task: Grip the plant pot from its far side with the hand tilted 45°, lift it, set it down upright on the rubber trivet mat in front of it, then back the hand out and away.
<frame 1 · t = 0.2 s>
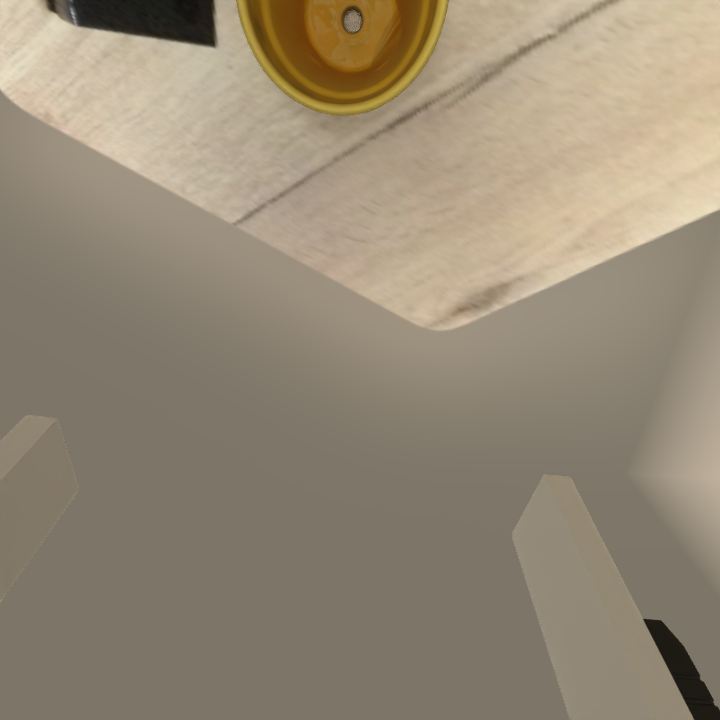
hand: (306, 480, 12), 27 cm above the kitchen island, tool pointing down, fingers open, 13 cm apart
plant pot: (353, 20, 29), on the kitchen island
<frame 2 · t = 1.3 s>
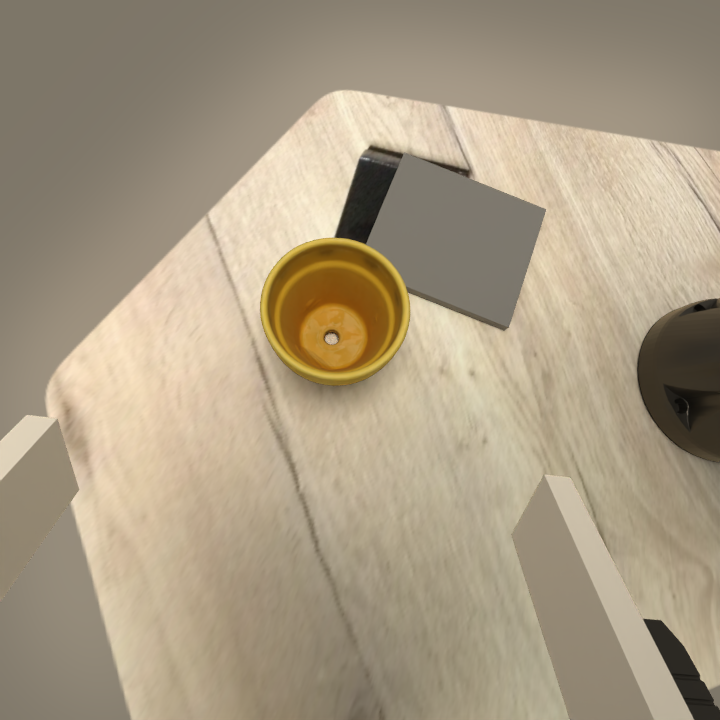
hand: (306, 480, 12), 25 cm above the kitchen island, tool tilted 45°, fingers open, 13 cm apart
plant pot: (332, 340, 39), on the kitchen island
trivet mat: (451, 241, 42), on the kitchen island
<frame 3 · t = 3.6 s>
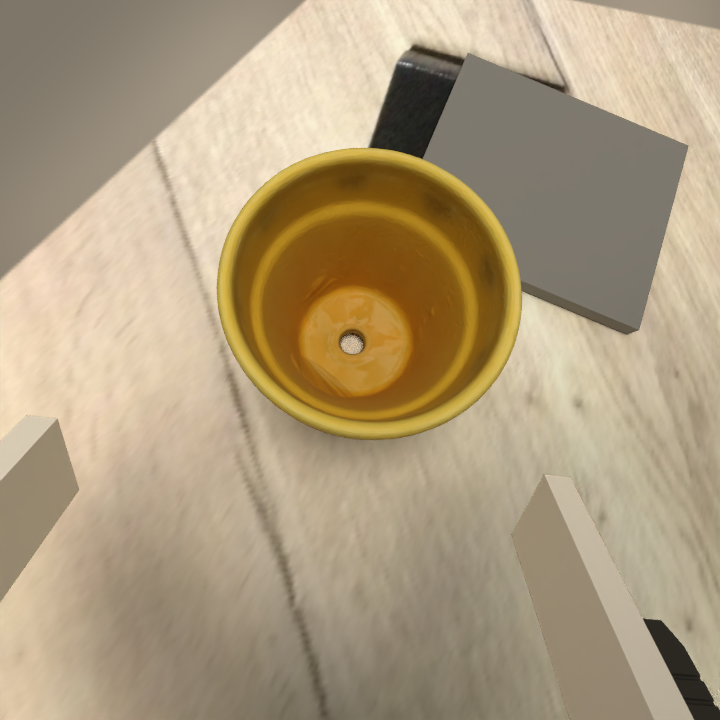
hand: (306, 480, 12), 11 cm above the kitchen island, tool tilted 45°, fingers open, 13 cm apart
plant pot: (353, 347, 24), on the kitchen island
trivet mat: (540, 193, 27), on the kitchen island
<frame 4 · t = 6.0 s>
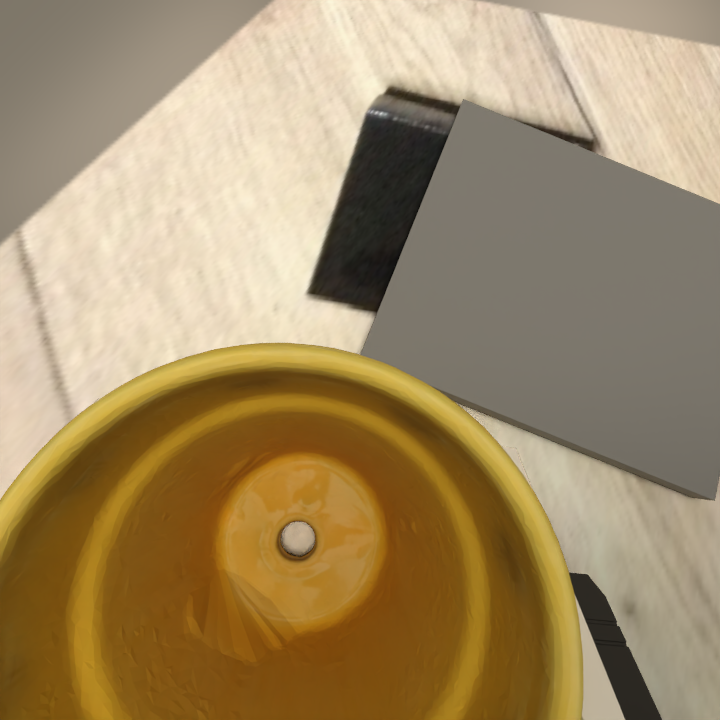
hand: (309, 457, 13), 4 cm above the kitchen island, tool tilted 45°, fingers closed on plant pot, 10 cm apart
plant pot: (302, 535, 17), on the kitchen island, touching gripper
trivet mat: (566, 293, 19), on the kitchen island
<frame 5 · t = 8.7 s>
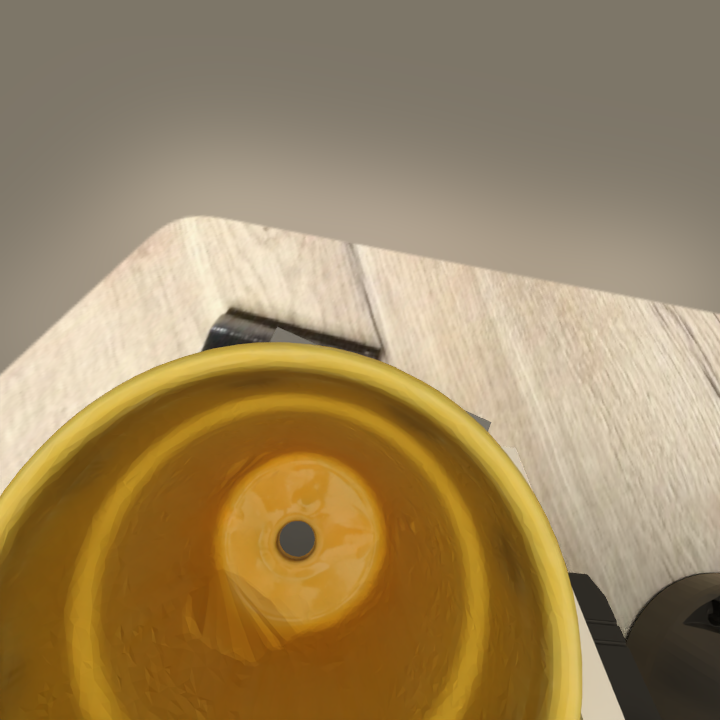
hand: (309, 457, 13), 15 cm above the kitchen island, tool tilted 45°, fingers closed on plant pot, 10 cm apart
plant pot: (301, 534, 17), point 10 cm above the kitchen island, touching gripper
trivet mat: (343, 470, 27), on the kitchen island
when the fingers open (6 cm above the kitchen island, at t = 11.5 s): plant pot drops 1 cm, resting on trivet mat.
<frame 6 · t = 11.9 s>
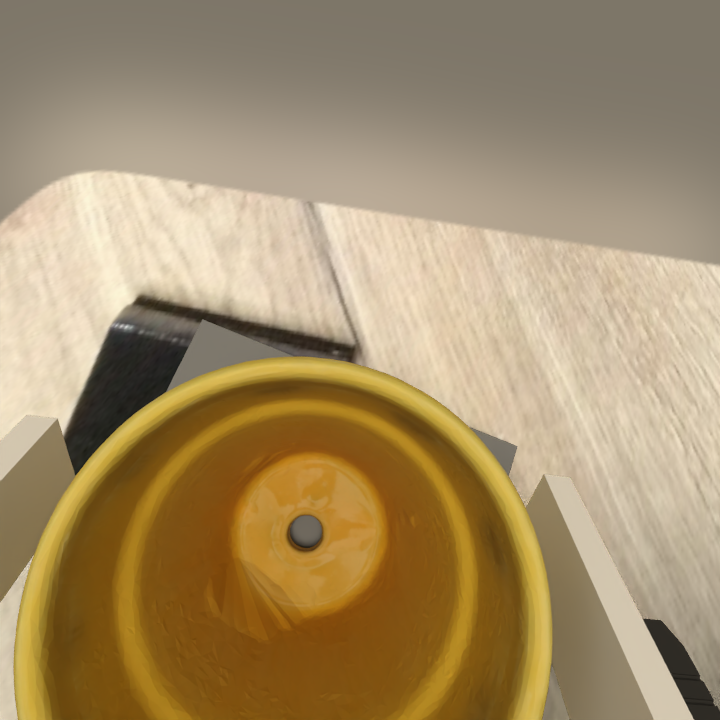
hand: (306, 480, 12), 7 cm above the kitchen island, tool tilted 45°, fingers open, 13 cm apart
plant pot: (309, 528, 18), point 1 cm above the kitchen island, touching trivet mat
trivet mat: (303, 524, 19), on the kitchen island
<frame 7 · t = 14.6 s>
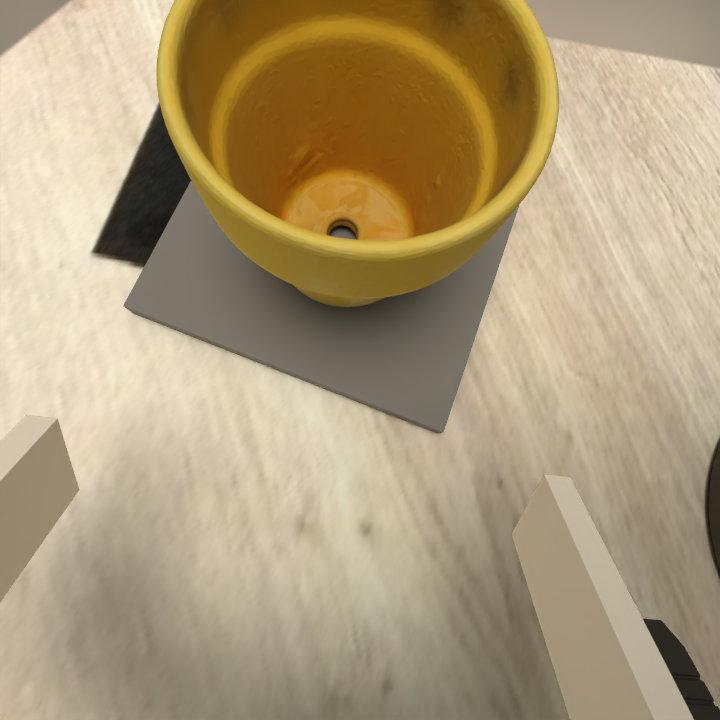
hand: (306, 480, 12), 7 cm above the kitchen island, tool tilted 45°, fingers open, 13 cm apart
plant pot: (344, 245, 21), point 1 cm above the kitchen island, touching trivet mat
trivet mat: (337, 252, 21), on the kitchen island
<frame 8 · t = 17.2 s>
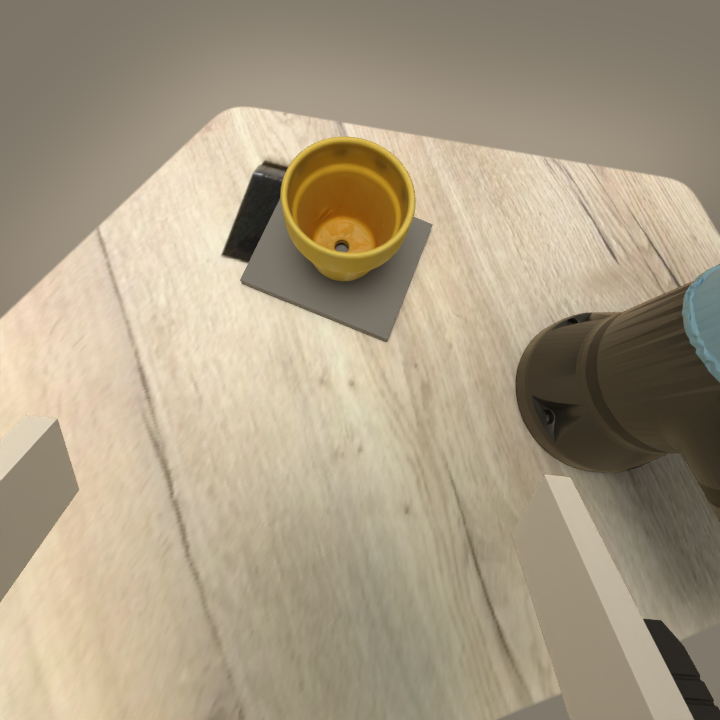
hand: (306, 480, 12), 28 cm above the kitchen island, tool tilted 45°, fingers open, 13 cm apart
plant pot: (342, 252, 43), point 1 cm above the kitchen island, touching trivet mat
trivet mat: (339, 255, 43), on the kitchen island
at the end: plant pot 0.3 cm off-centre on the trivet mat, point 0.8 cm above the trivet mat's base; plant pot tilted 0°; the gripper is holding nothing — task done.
